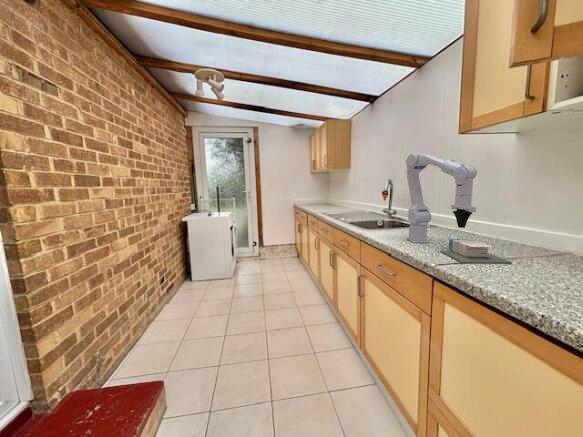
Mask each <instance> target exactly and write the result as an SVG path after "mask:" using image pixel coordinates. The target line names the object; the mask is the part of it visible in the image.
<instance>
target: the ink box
mask: <svg viewBox="0 0 583 437" xmlns="http://www.w3.org/2000/svg"><path fill="white" fill-rule="evenodd" d="M489 248H493V246H492V245H489V244H486V243H483V242H480V241H477V240H473V239H471V238H449V240H448V251H453V252H456V253H458V254H460V255H463V256H465V257H488V253H489Z"/></svg>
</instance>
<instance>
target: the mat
mask: <svg viewBox="0 0 583 437" xmlns="http://www.w3.org/2000/svg"><path fill="white" fill-rule="evenodd" d="M439 253H441V254H443V255H445V256H446V257H449V258H450V259H453V260H454V261H456V262H459V263H460V264H466V265H468V264H469V265H470V264H471V265H472V264H475V265H476V264H478V265H480V264H482V265H483V264H484V265H485V264H486V265H487V264H490V265H491V264H493V265H495V264H497V265H500V264H502V265H505V264H507V265H512V264H513V262H512V261H511V260H508V259H506V258H502V257H500V256H496V255H494V254H492V253H489V252H488V257H465V256H463V255H460V254H458V253H456V252H453V251H451V250H439Z"/></svg>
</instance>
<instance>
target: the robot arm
mask: <svg viewBox="0 0 583 437" xmlns="http://www.w3.org/2000/svg"><path fill="white" fill-rule="evenodd" d="M405 164H406V178H407V179H406V180H407V185H408V190H409V195H410V202H411V207H410V208H409V209H408V211H407V212H408V215H407V219H408V222H409V223H410V224H409V227H408V237H407V238H406V240H408V241H410V242H411V243H415V244H416V243H417V244H423V243H424V244H425V243H427V244H428V243H429V244H430V243H431V242H430V241H429V240H427V238H428V225H429V223H430V221H431V220H432V214H431V212H430V211H429V207H428V206H427V205H426V204H425V203H424V197H423V190H422V186H421V179H420V174H421V172H423V171H424V170H425V169H426V168H427V167H428V166H429V165H431V166H434V167H437V168H439V169H440V171H441V172H443V173H444V174H447V175H449V176H452V177H453V178H454V180H455V196H454V197H455V198H454V204H451V205H450V209H451V210H453V211H452V213H453V215H454V217H455V219H456V220H455V221H456V223H457V227H458V228H460V229H462V228H463V229H465V227H466V226H467V222H468V221H469V219H470V217H471V216H472V214H473V213H476V212H477V207H476V206H473V205H472V199H473V198H472V197H473V184H474V179H475V178H476V176H477V174H478V170H477V168H476V167H475V166H473V165H465V163H463V162H461V163H460V162H457V161H456V159H454V158H453V159H452V158H451V159H447V160H443V159H441V158H439V157H437V156H434V155H432V154H428V153H414V152H413V153H410V154H408V156H407V158H406V159H405Z"/></svg>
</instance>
